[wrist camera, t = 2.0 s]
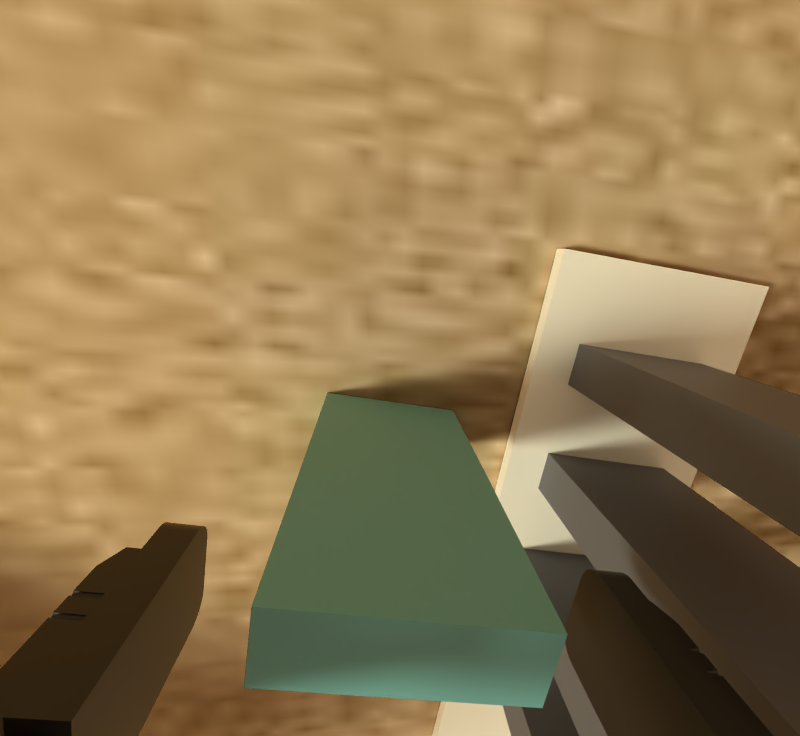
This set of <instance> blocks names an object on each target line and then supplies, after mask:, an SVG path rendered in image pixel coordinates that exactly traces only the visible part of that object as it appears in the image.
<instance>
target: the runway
mask: <svg viewBox="0 0 800 736" xmlns="http://www.w3.org/2000/svg"><path fill="white" fill-rule="evenodd" d="M768 289H769V287H767V286H762V285H757V284H751V283H746V282H741V281H735V280H730V279H725V278H719V277H714V276H709V275H703V274H698V273H693V272H687V271H682V270H677V269H671V268H666V267H661V266H655V265H650V264H645V263H639V262H634V261H628V260H623V259H618V258H612V257H607V256H602V255H596V254H591V253H586V252H580V251H575V250H570V249H557V251H556V255H555V259H554V263H553V267H552V271H551V275H550V279H549V283H548V286H547V290H546V294H545V298H544V302H543V306H542V310H541V314H540V318H539V321H538V325H537V329H536V333H535V337H534V341H533V345H532V349H531V353H530V357H529V360H528V364H527V368H526V372H525V376H524V380H523V384H522V388H521V392H520V395H519V399H518V403H517V407H516V411H515V415H514V419H513V423H512V427H511V430H510V434H509V438H508V442H507V446H506V450H505V454H504V458H503V462H502V466H501V469H500V473H499V477H498V481H497V485H496V489H495V493H496V495H497V497H498V499H499V501H500V503H501V505H502V507H503V509H504V511H505V513H506V515H507V517H508V519H509V520H510V522H511V524H512V526H513V528H514V530H515V532H516V534H517V536H518V538H519V540H520V542H521V544H522V546H523V548H525V549H535V550H544V551H553V552H562V553H572V554H581V555H585V554H584V552H583V551H582V549H581V548H580V547H579V545H578V544H577V542H576V541H575V539H574V538H573V537H572V535H571V534H570V532H569V531H568V530H567V528H566V527H565V525H564V524H563V523H562V521H561V520H560V518H559V517H558V515H557V514H556V513H555V511H554V510H553V508H552V507H551V506H550V504H549V503H548V501H547V500H546V499H545V497H544V496H543V494H542V493H541V491H540V490H539V489H538V487H539V484H540V480H541V477H542V473H543V470H544V466H545V463H546V459H547V456H548V453H552V454H560V455H567V456H575V457H582V458H590V459H597V460H605V461H612V462H620V463H627V464H635V465H642V466H650V467H657V468H664V469H665V470H666V471H668V472H669V473H670V474H672V475H673V476H674V477H676V478H677V479H679V480H680V481H681V482H683V483H684V484H685V485H687V486H688V487H690V488H691V485H692V483H693V480H694V478H695V475H696V473H697V470H698V469H696V468H695V467H693V466H692V465H690V464H689V463H687V462H685V461H684V460H682V459H681V458H679V457H678V456H676V455H675V454H673V453H672V452H670V451H669V450H667V449H666V448H664V447H663V446H661V445H660V444H658V443H656V442H655V441H653V440H652V439H650V438H649V437H647V436H646V435H644V434H643V433H641V432H640V431H638V430H637V429H635V428H634V427H632V426H631V425H629V424H627V423H626V422H624V421H623V420H621V419H620V418H618V417H617V416H615V415H614V414H612V413H611V412H609V411H608V410H606V409H605V408H603V407H602V406H600V405H598V404H597V403H595V402H594V401H592V400H591V399H589V398H588V397H586V396H585V395H583V394H582V393H580V392H579V391H577V390H576V389H574V388H572V387H571V386H569V385H568V382H569V379H570V375H571V372H572V368H573V365H574V361H575V358H576V354H577V351H578V347H579V344H583V345H589V346H595V347H602V348H608V349H614V350H620V351H626V352H632V353H638V354H644V355H651V356H657V357H663V358H669V359H675V360H681V361H687V362H694V363H700V364H704V365H707V366H710V367H713V368H716V369H719V370H722V371H725V372H728V373H732V374H735V373H736V370H737V368H738V365H739V363H740V360H741V358H742V355H743V353H744V350H745V347H746V345H747V342H748V340H749V337H750V335H751V332H752V330H753V327H754V324H755V322H756V319H757V317H758V314H759V312H760V309H761V307H762V304H763V302H764V299H765V296H766V294H767V291H768ZM432 736H511V733H510V730H509V726H508V723H507V719H506V716H505V712H504V709H503V705H488V704H473V703H459V702H444V701H441V703H440V707H439V711H438V715H437V719H436V722H435V726H434V730H433V734H432Z"/></svg>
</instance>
